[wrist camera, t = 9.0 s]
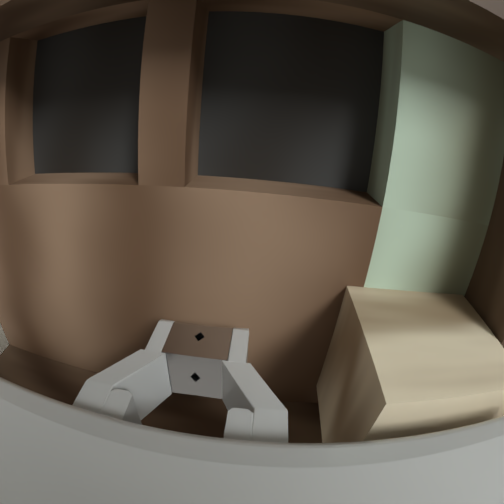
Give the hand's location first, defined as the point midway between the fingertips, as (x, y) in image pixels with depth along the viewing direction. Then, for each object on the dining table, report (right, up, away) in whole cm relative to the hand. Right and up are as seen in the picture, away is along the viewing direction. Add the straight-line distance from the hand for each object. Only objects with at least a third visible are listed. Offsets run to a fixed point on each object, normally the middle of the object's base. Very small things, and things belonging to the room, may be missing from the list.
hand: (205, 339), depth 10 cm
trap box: (0, +4, +1) cm, 4 cm away
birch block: (+7, -1, +1) cm, 7 cm away
